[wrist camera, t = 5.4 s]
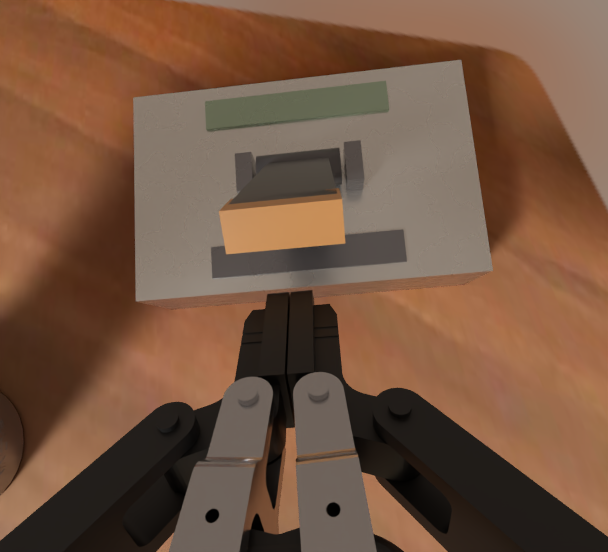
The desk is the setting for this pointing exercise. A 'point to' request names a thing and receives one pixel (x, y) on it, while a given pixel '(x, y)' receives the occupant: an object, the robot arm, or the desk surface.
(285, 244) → the breaker lever
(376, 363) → the desk surface
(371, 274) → the breaker box
